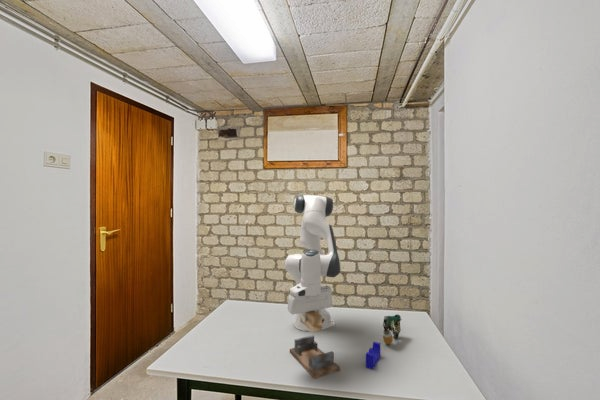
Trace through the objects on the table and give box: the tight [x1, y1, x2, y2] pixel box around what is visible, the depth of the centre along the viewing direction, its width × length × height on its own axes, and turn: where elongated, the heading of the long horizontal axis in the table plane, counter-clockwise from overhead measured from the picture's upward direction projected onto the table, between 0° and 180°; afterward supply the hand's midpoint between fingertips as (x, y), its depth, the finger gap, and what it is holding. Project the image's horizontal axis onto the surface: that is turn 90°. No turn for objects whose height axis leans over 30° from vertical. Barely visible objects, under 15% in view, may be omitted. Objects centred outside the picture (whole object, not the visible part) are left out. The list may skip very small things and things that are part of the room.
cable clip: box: [365, 341, 382, 370], centre depth 128 cm, size 12×4×6 cm, turn 151°
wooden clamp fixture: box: [289, 334, 341, 379], centre depth 128 cm, size 12×22×6 cm, turn 27°
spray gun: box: [382, 314, 402, 345], centre depth 145 cm, size 4×17×15 cm, turn 137°
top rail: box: [300, 311, 323, 333], centre depth 128 cm, size 4×12×6 cm, turn 27°
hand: (310, 320), depth 128 cm, fingers closed on top rail, 4 cm apart
